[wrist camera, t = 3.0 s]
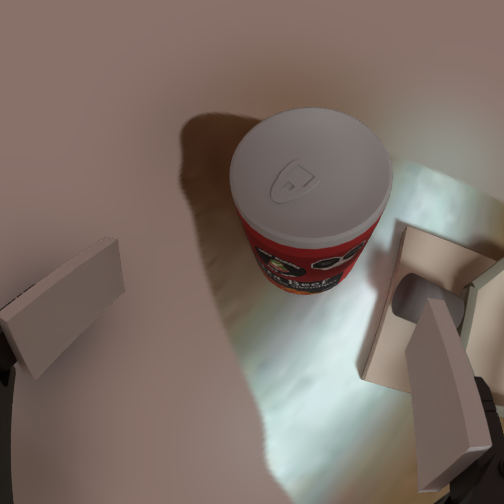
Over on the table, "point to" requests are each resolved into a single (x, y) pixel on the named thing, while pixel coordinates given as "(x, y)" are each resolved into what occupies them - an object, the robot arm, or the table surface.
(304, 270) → the canned food
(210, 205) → the table surface
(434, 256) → the plate
